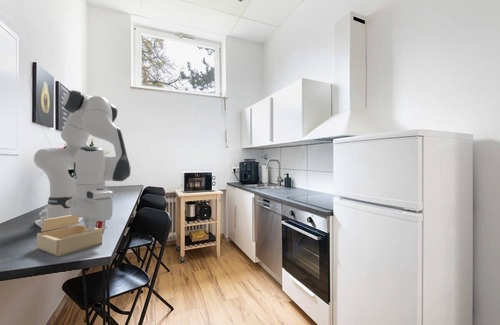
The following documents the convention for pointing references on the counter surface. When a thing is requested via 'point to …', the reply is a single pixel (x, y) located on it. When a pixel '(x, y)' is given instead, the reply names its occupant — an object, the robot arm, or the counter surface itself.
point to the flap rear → (59, 222)
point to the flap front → (84, 233)
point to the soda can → (100, 224)
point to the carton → (67, 240)
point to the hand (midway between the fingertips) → (89, 230)
